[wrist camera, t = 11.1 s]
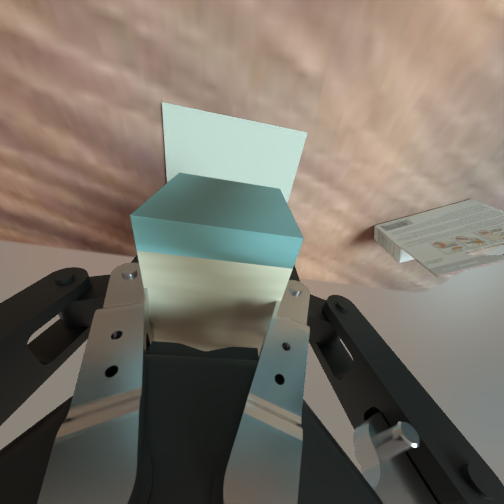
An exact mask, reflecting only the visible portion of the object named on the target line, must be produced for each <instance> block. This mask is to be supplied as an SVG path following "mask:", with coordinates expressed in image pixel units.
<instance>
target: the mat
mask: <svg viewBox="0 0 504 504" xmlns="http://www.w3.org/2000/svg"><path fill="white" fill-rule="evenodd" d="M162 112H163V127H164V143H165V159H166V175H167V183H168V182H169V181H170V180H171V179H172V178H174V177H175V176H176V175H177V174H178V173H179V172H180V173H186V174H192V175H199V176H205V177H211V178H217V179H223V180H229V181H235V182H242V183H248V184H254V185H260V186H266V187H272V188H279V189H280V190H281V192H282V194H283V196H284V198H285V200H286V202H288V199H289V195H290V192H291V188H292V185H293V181H294V178H295V174H296V171H297V167H298V164H299V160H300V157H301V154H302V150H303V147H304V143H305V140H306V136H307V132H302V131H297V130H293V129H288V128H283V127H278V126H274V125H269V124H264V123H259V122H254V121H250V120H245V119H240V118H235V117H231V116H226V115H221V114H216V113H211V112H207V111H202V110H197V109H192V108H188V107H183V106H178V105H173V104H168V103H164V102H162Z"/></svg>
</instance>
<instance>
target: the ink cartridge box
mask: <svg viewBox="0 0 504 504" xmlns="http://www.w3.org/2000/svg"><path fill="white" fill-rule="evenodd" d="M374 240H375V241H376V242H377V243H378V244H379V245H380V246H381V247H383V248H384V249H385V250H386V252H388V253H389V254H390V255H391V256H392V257H393V258H394V259H395V260H396V261H397V262H398V263H401V262H405V261H409V260H413V259H415V260H416V261H417V262H419V263H420V264H421V265H423V266H424V267H425V268H426V269H428V270H429V271H430V272H431V273H432V274H434V275H435V276H436V277H440V276H444V275H448V274H452V273H457V272H461V271H465V270H469V269H473V268H477V267H482V266H486V265H491V264H495V263H498V262H503V261H504V254H502V255H493V256H492V255H490V256H472V255H469V254H467V253H470V252H474V251H478V250H482V249H486V248H490V247H494V246H499V245H503V244H504V212H503V211H501V210H498V209H496V208H493V207H491V206H488V205H486V204H484V203H481V202H479V201H476V200H473V199H469V200H465V201H462V202H458V203H455V204H451V205H447V206H444V207H440V208H437V209H433V210H429V211H426V212H422V213H418V214H415V215H411V216H408V217H404V218H400V219H397V220H393V221H389V222H386V223H382V224H378V225H375V227H374Z"/></svg>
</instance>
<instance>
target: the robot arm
mask: <svg viewBox="0 0 504 504" xmlns="http://www.w3.org/2000/svg"><path fill="white" fill-rule="evenodd" d="M294 266H295V265H294ZM57 314H58V315H59V317H60V319H59V320H58V321H56V322H55V323H54V324H53V325H51V326H50V327H49V328H48V329H46V330H45V331H44V332H43V333H41V334H40V335H39V336H38V337H36V339H34V340H33V341H32V342H30V343H29V344H28V345H27V342H28V340H29V338H30V336H31V335H32V334H33V333H34V332H35V331H37V330H38V329H39V328H41V327H42V326H43V325H44V324H46V323H47V322H48V321H50V320H51V319H52V318H53V317H55V316H56V315H57ZM87 339H88V340H87ZM340 339H342V341H343V342H344V344H345V346H346V347H347V349H348V350H349V352H350V353H351V355H352V357H353V360H352V358H351V357H350V355H349V354H348V352H347V351H346V349H345V348H344V346H343V344H342V343H341V341H340ZM86 340H87V344H86V348H85V352H84V356H83V360H82V363H81V367H80V371H79V375H78V379H77V383H76V386H75V391H74V394H73V396H72V397H70V398H69V399H68V400H66V401H65V402H64V403H62V404H61V405H60V406H58V407H57V408H56V409H55V410H53V411H52V412H50V413H49V414H48V415H46V416H45V417H44V418H43V419H41V420H40V421H39V422H37V423H36V424H35V425H33V426H32V427H31V428H29V429H28V430H27V431H25V432H24V433H23V434H21V435H20V436H19V437H17V438H16V439H15V440H13V441H12V442H11V443H9V444H8V445H7V446H5V447H4V448H3V449H2V450H0V504H504V486H503V484H502V483H501V481H500V480H499V478H498V477H497V476H496V475H495V473H494V472H493V471H492V470H491V468H490V467H489V466H488V465H487V464H486V462H485V461H484V460H483V459H482V458H481V457H480V455H479V454H478V453H477V452H476V450H475V449H474V448H473V447H472V446H471V445H470V443H469V442H468V441H467V440H466V439H465V437H464V436H463V435H462V434H461V432H460V431H459V430H458V429H457V428H456V426H455V425H454V424H453V423H452V422H451V420H450V419H449V418H448V417H447V416H446V414H445V413H444V412H443V411H442V410H441V408H440V407H439V406H438V405H437V404H436V403H435V401H434V400H433V399H432V398H431V396H430V395H429V394H428V393H427V392H426V390H425V389H424V388H423V387H422V386H421V385H420V383H419V382H418V381H417V380H416V378H415V377H414V376H413V375H412V374H411V372H410V371H409V370H408V369H407V368H406V366H405V365H404V364H403V363H402V362H401V360H400V359H399V358H398V357H397V356H396V354H395V353H394V352H393V351H392V350H391V348H390V347H389V346H388V345H387V344H386V343H385V341H384V340H383V339H382V338H381V336H380V335H379V334H378V333H377V332H376V330H375V329H374V328H373V327H372V326H371V324H370V323H369V322H368V321H367V320H366V318H365V317H364V316H363V315H362V314H361V312H360V311H359V310H358V309H357V308H356V306H355V305H354V304H353V303H352V302H351V301H350V300H348V299H347V298H345V297H343V296H339V295H331V296H329V297H328V299H327V300H324V299H321V298H318V297H315V296H313V295H311V294H310V291H309V289H308V288H307V287H306V286H305V285H304V284H303V283H301V282H300V281H299V277H298V274H297V271H296V268H295V267H293V270H292V272H291V275H290V278H289V281H288V283H287V286H286V289H285V292H284V295H283V297H282V300H281V301H277V302H276V305H275V308H274V311H273V314H272V317H271V320H270V324H269V327H268V330H267V331H266V333H265V336H264V339H263V342H262V346H261V349H260V352H259V355H258V348H249V347H234V346H233V347H227V348H222V349H217V350H211V351H202V350H199V349H196V348H193V347H190V346H187V345H184V344H181V343H173V342H158V341H154V325H153V322H150V319H149V296H148V290H147V288H144V287H143V282H142V276H141V271H140V266H139V260H138V255H136V257H135V258H134V259H133V261H132V262H131V263H127V264H123V265H121V266H118V267H116V268H115V269H114V270H113V271H112V272H111V274H110V275H103V276H94V277H89V276H88V273H87V271H86V270H84V269H82V268H75V267H74V268H65V269H61V270H58V271H55V272H53V273H51V274H49V275H48V276H46V277H44V278H42V279H41V280H39V281H37V282H36V283H34V284H33V285H31V286H29V287H27V288H26V289H24V290H22V291H21V292H19V293H17V294H15V295H14V296H12V297H11V298H9V299H7V300H5V301H4V302H2V303H0V426H1V425H2V424H3V422H5V421H6V420H7V419H8V418H9V417H10V416H11V414H13V413H14V412H15V411H16V410H17V409H18V407H20V406H21V405H22V403H24V402H25V401H26V400H27V399H28V398H29V397H30V396H31V395H32V394H33V393H34V392H35V391H36V390H37V389H38V388H39V387H40V386H41V385H42V384H43V383H44V382H45V380H47V379H48V378H49V377H50V376H51V375H52V374H53V373H54V372H55V371H56V370H57V369H58V368H59V367H60V366H61V364H63V363H64V362H65V361H66V360H67V359H68V358H69V357H70V356H71V355H72V354H73V352H75V351H76V350H77V349H78V348H79V347H80V346H81V345H82V344H83V343H84V342H85V341H86ZM309 342H310V344H311V346H312V348H313V350H314V352H315V354H316V356H317V358H318V360H319V362H320V364H321V366H322V368H323V369H324V372H325V373H326V375H327V377H328V379H329V381H330V383H331V385H332V387H333V389H334V391H335V393H336V394H337V397H338V399H339V400H340V402H341V404H342V406H343V408H344V410H345V412H346V414H347V416H348V418H349V420H350V422H351V424H352V426H353V427H354V430H355V431H354V436H353V439H354V447H355V456H356V458H357V460H358V462H359V463H360V465H361V469H362V474H361V473H360V471H359V470H358V469H357V467H356V466H355V465H354V464H353V462H352V461H351V460H350V458H349V457H348V456H347V455H346V453H345V452H344V451H343V449H342V448H341V447H340V446H339V444H338V443H337V442H336V440H335V439H334V438H333V437H332V435H331V434H330V433H329V431H328V430H327V429H326V428H325V426H324V425H323V424H322V422H321V421H320V420H319V419H318V417H317V416H316V415H315V413H314V412H313V411H312V410H311V408H310V407H309V406H308V405H307V403H306V402H305V401H304V399H303V396H304V385H305V375H306V365H307V354H308V344H309Z"/></svg>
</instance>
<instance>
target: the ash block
mask: <svg viewBox="0 0 504 504" xmlns="http://www.w3.org/2000/svg"><path fill="white" fill-rule="evenodd" d="M130 218H131V223H132V228H133V234H134V239H135V244H136V250H137V255H138V260H139V266H140V271H141V276H142V282H143V287H144V288H147V290H148V296H149V319H150V322H153V325H154V341H158V342H173V343H181V344H184V345H187V346H190V347H193V348H196V349H199V350H202V351H211V350H217V349H222V348H227V347H233V346H234V347H249V348H258V355H259V352H260V349H261V346H262V342H263V339H264V336H265V333H266V331H267V330H268V327H269V324H270V320H271V317H272V314H273V311H274V308H275V305H276V302H277V301H281V300H282V297H283V295H284V292H285V289H286V286H287V283H288V281H289V278H290V275H291V272H292V270H293V267H294V264H295V261H296V258H297V256H298V253H299V250H300V247H301V245H302V242H303V239H304V238H303V236H302V234H301V232H300V229H299V227H298V225H297V223H296V221H295V219H294V217H293V215H292V213H291V211H290V209H289V206H288V204H287V202H286V200H285V198H284V196H283V194H282V192H281V190H280V189H279V188H272V187H266V186H260V185H254V184H248V183H242V182H235V181H229V180H223V179H217V178H211V177H205V176H199V175H192V174H186V173H180V172H179V173H178V174H177V175H176V176H175V177H174V178H172V179H171V180H170V181H169V182H168V183H167V184H165V185H164V186H163V187H162V188H161V189H160V190H158V191H157V192H156V193H155V194H154V195H153V196H151V197H150V198H149V199H148V200H147V201H146V202H145V203H143V204H142V205H141V206H140V207H139V208H138V209H136V210H135V211H134V212H133V213H132V214H131V215H130Z"/></svg>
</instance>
